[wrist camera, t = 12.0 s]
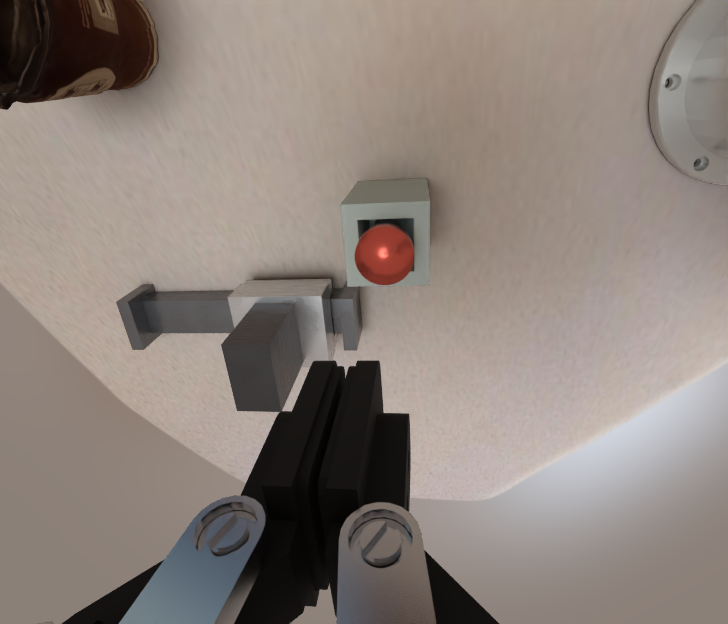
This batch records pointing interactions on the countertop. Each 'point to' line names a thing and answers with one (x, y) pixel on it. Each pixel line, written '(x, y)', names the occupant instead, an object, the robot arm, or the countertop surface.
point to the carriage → (276, 338)
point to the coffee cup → (72, 48)
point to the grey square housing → (388, 204)
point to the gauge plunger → (385, 252)
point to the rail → (215, 314)
